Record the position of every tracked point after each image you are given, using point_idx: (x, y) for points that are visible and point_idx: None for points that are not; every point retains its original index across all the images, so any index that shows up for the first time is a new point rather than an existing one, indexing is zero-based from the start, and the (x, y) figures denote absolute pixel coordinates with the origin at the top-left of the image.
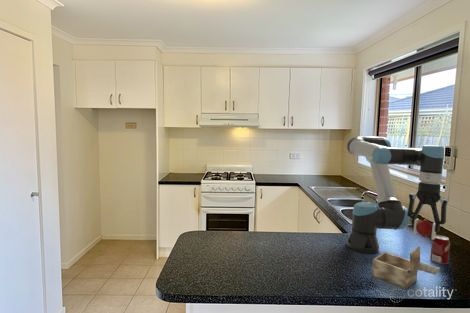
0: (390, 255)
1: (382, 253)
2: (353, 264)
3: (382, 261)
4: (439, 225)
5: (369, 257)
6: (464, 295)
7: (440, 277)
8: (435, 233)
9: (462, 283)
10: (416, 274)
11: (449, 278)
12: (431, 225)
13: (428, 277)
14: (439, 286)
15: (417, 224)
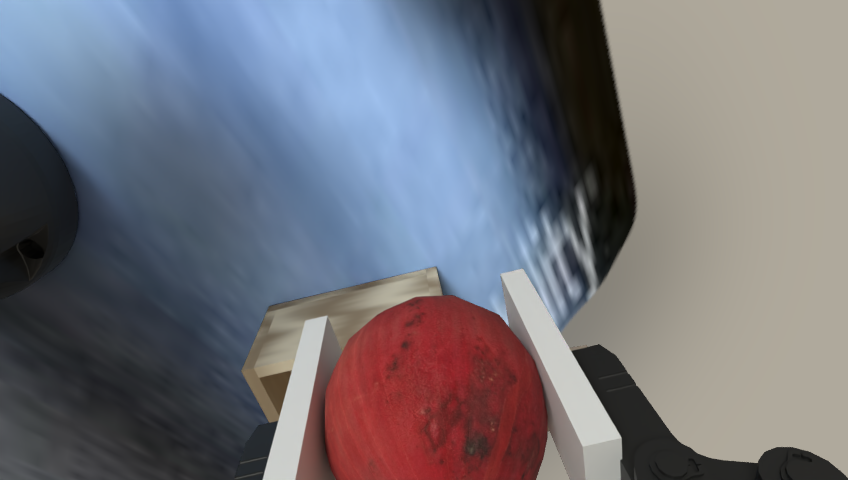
0: (291, 366)
1: (260, 401)
2: (200, 411)
3: (286, 377)
4: (666, 437)
5: (135, 276)
6: (634, 203)
7: (491, 113)
8: (546, 318)
9: (596, 62)
10: (442, 295)
11: (527, 69)
12: (540, 460)
13: (455, 185)
14: (531, 229)
15: (320, 446)
